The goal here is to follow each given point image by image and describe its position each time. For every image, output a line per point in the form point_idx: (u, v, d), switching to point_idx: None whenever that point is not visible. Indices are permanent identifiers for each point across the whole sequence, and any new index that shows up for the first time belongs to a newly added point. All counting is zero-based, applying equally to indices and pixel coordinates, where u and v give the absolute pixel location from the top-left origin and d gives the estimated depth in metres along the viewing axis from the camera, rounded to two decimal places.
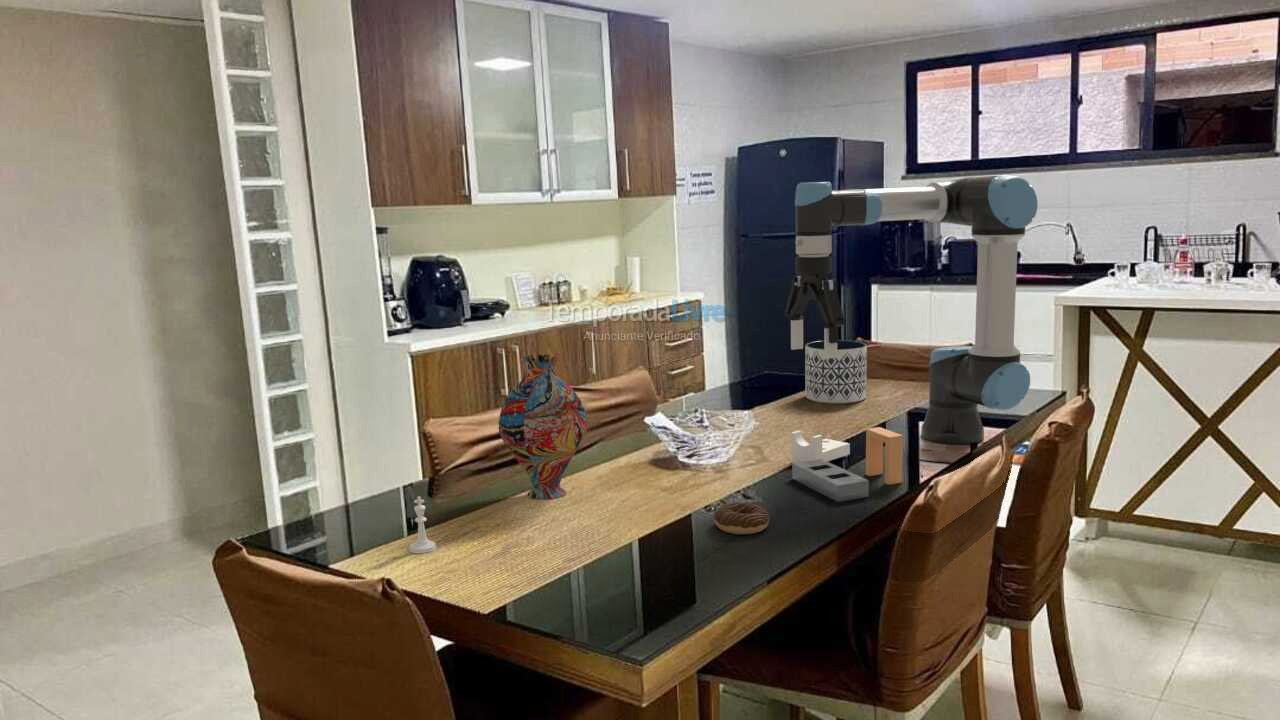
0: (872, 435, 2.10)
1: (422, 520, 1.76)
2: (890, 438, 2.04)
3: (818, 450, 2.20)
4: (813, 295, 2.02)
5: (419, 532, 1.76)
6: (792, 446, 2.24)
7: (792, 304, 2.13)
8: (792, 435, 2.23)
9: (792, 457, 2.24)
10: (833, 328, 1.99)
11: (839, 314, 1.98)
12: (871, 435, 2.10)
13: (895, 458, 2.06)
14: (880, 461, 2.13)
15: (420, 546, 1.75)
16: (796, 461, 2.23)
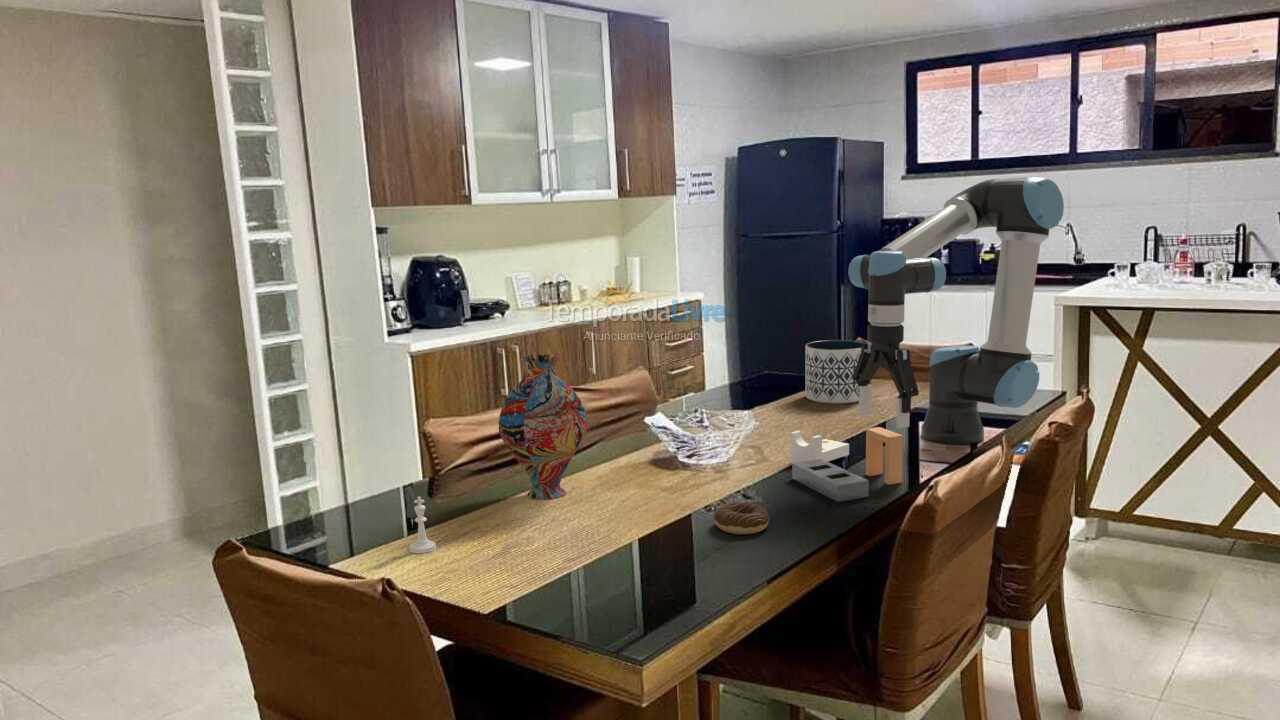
0: (872, 435, 2.10)
1: (422, 520, 1.76)
2: (890, 438, 2.04)
3: (818, 450, 2.19)
4: (886, 364, 2.02)
5: (419, 532, 1.76)
6: (792, 446, 2.23)
7: (861, 370, 2.13)
8: (791, 435, 2.23)
9: (791, 457, 2.24)
10: (906, 398, 1.99)
11: (913, 384, 1.98)
12: (871, 435, 2.10)
13: (895, 458, 2.06)
14: (880, 461, 2.13)
15: (420, 546, 1.75)
16: (795, 461, 2.23)
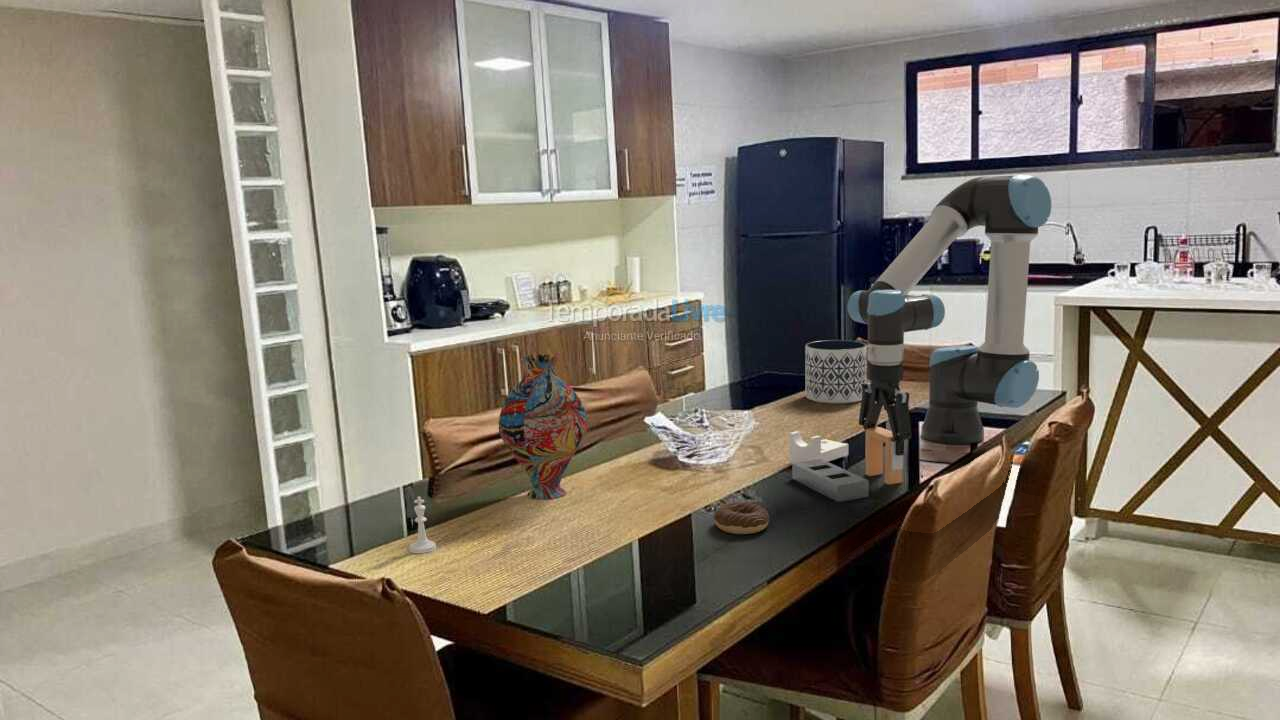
0: (872, 435, 2.10)
1: (422, 520, 1.76)
2: (890, 438, 2.04)
3: (817, 451, 2.19)
4: (884, 404, 2.05)
5: (419, 532, 1.76)
6: (791, 447, 2.23)
7: (865, 412, 2.13)
8: (790, 436, 2.23)
9: (790, 458, 2.24)
10: (900, 441, 2.03)
11: (907, 429, 2.01)
12: (871, 435, 2.10)
13: None
14: (880, 461, 2.13)
15: (420, 546, 1.75)
16: (794, 462, 2.23)
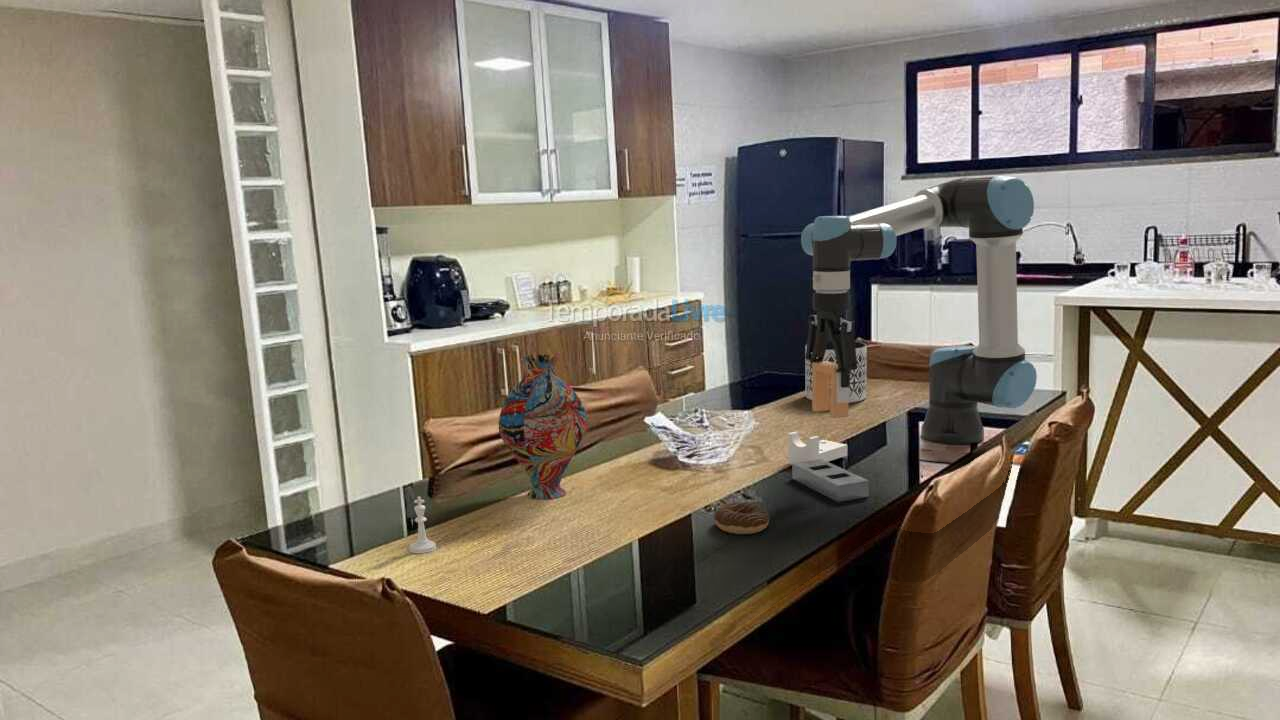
0: (818, 368, 2.02)
1: (422, 520, 1.76)
2: (835, 370, 1.96)
3: (815, 451, 2.19)
4: (830, 334, 1.97)
5: (419, 532, 1.76)
6: (789, 447, 2.23)
7: (812, 346, 2.06)
8: (789, 436, 2.22)
9: (789, 458, 2.23)
10: (845, 372, 1.95)
11: (853, 359, 1.93)
12: (817, 368, 2.02)
13: None
14: (827, 396, 2.05)
15: (420, 546, 1.75)
16: (793, 462, 2.23)
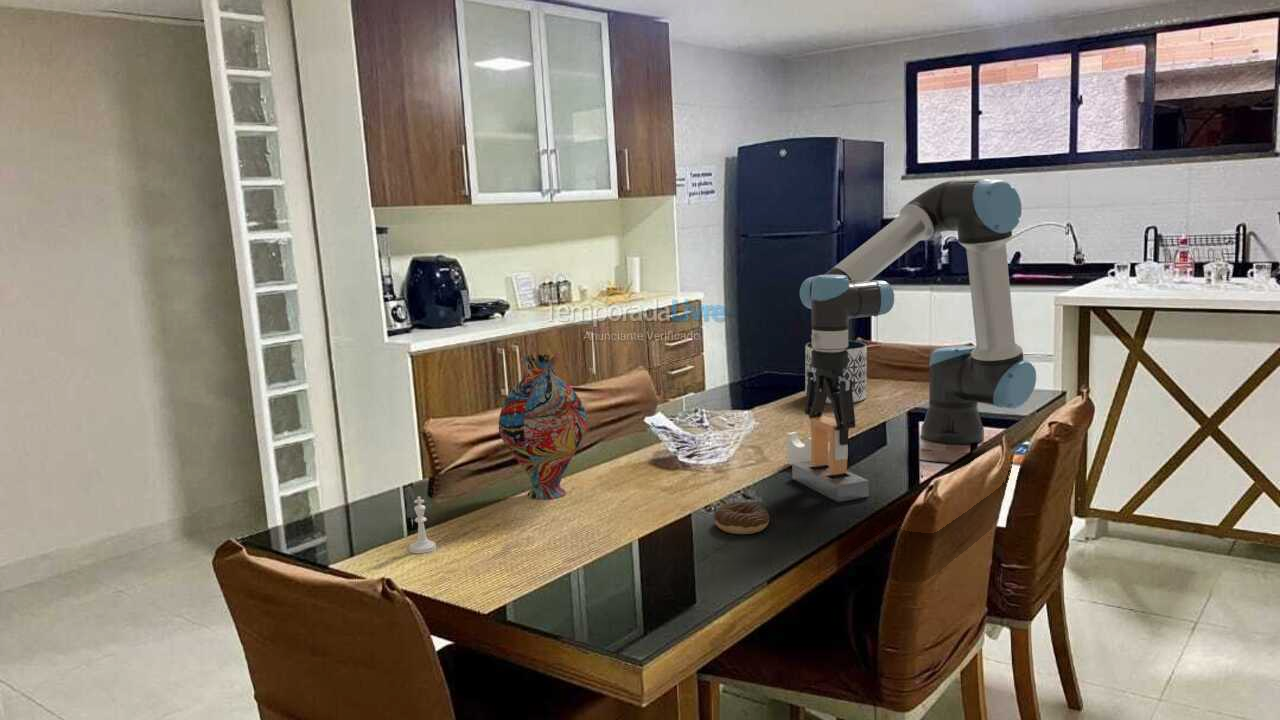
0: (817, 424, 2.04)
1: (422, 520, 1.76)
2: (833, 427, 1.98)
3: None
4: (828, 392, 1.99)
5: (419, 532, 1.76)
6: (788, 447, 2.23)
7: (811, 401, 2.08)
8: (788, 436, 2.22)
9: (788, 458, 2.23)
10: (844, 430, 1.97)
11: (851, 417, 1.96)
12: (816, 424, 2.04)
13: None
14: (826, 451, 2.07)
15: (420, 546, 1.75)
16: (792, 462, 2.22)
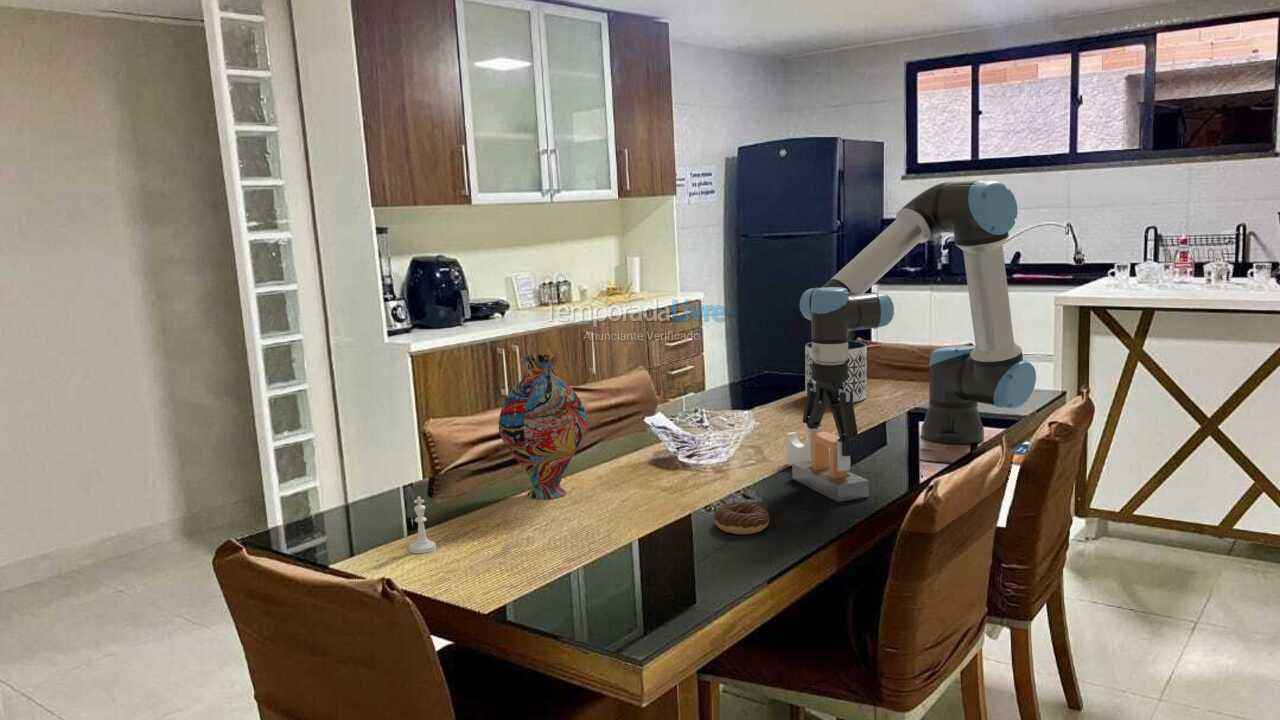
0: (817, 440, 2.05)
1: (422, 520, 1.76)
2: (834, 443, 1.99)
3: None
4: (829, 404, 1.99)
5: (419, 532, 1.76)
6: (787, 448, 2.23)
7: (810, 411, 2.09)
8: (787, 436, 2.22)
9: (787, 458, 2.23)
10: (846, 441, 1.97)
11: (853, 428, 1.95)
12: (816, 440, 2.05)
13: None
14: (826, 466, 2.08)
15: (420, 546, 1.75)
16: (791, 462, 2.22)
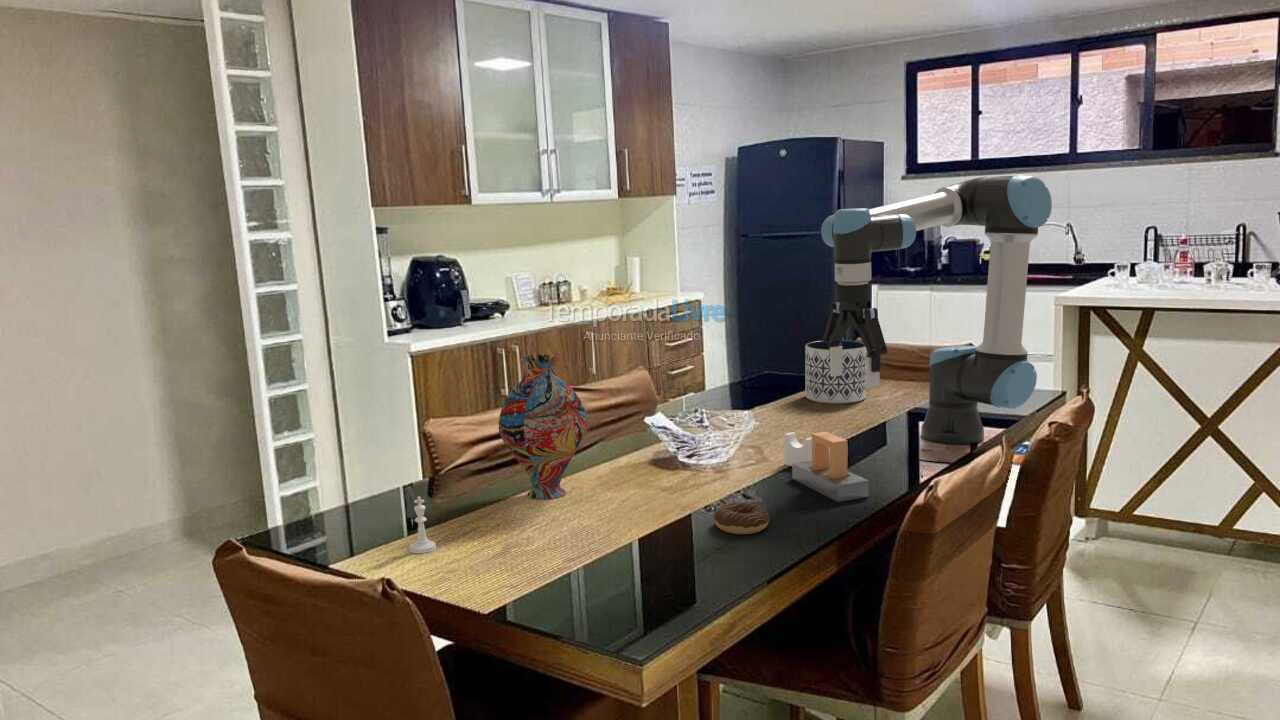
0: (817, 440, 2.05)
1: (422, 520, 1.76)
2: (834, 443, 1.99)
3: (811, 452, 2.18)
4: (854, 324, 2.00)
5: (419, 532, 1.76)
6: (786, 448, 2.22)
7: (831, 331, 2.10)
8: (786, 437, 2.22)
9: (786, 459, 2.23)
10: (875, 357, 1.96)
11: (881, 343, 1.95)
12: (816, 440, 2.05)
13: (840, 464, 2.00)
14: (826, 466, 2.08)
15: (420, 546, 1.75)
16: (789, 463, 2.22)
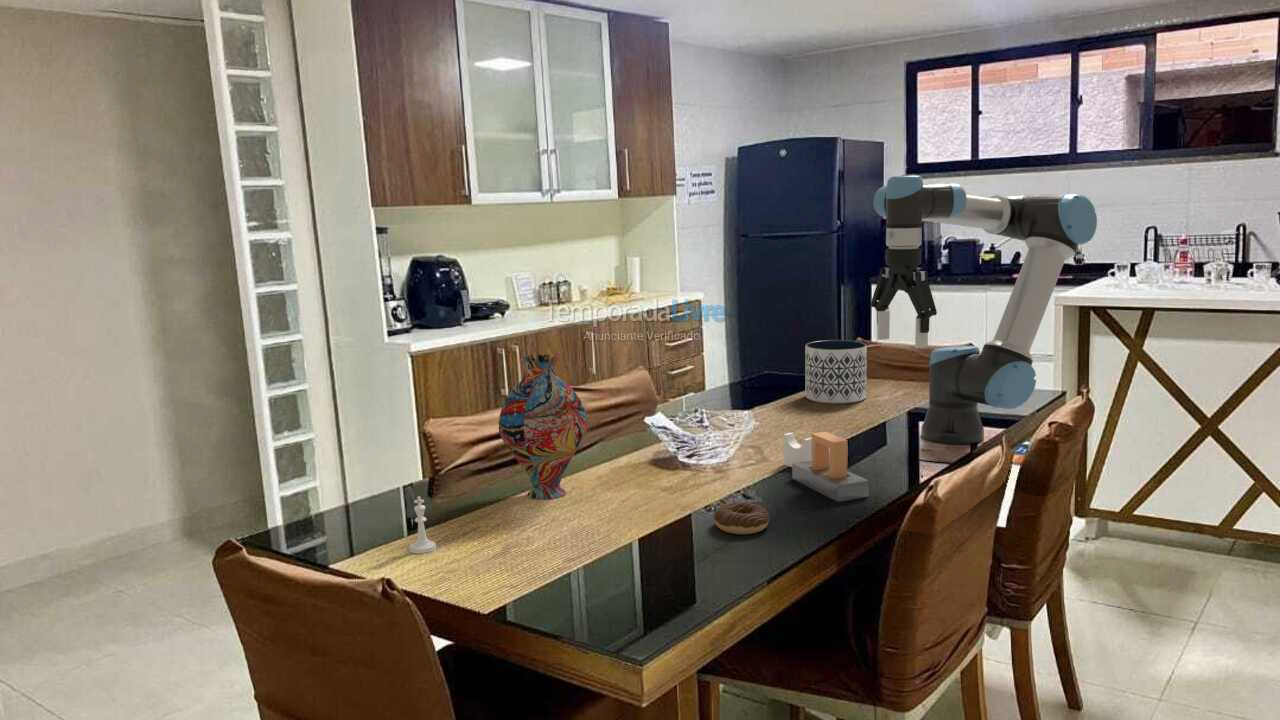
0: (817, 440, 2.05)
1: (422, 520, 1.76)
2: (834, 443, 1.99)
3: (810, 452, 2.18)
4: (904, 286, 2.07)
5: (419, 532, 1.76)
6: (785, 448, 2.22)
7: (879, 295, 2.18)
8: (784, 437, 2.22)
9: (784, 459, 2.23)
10: (925, 318, 2.04)
11: (931, 304, 2.03)
12: (816, 440, 2.05)
13: (840, 464, 2.00)
14: (826, 466, 2.08)
15: (420, 546, 1.75)
16: (788, 463, 2.22)
